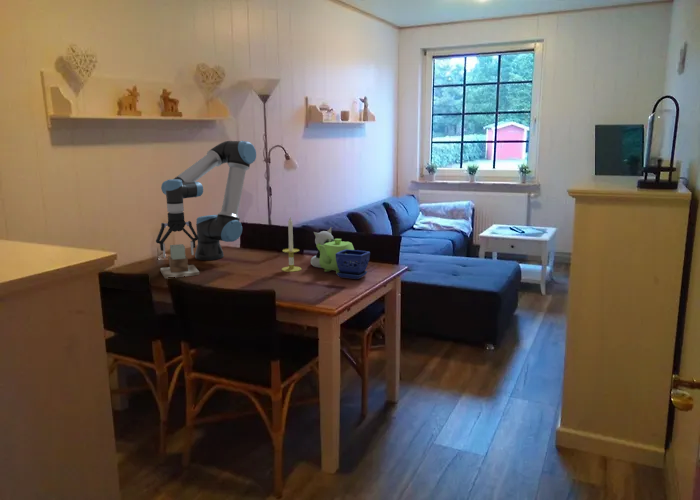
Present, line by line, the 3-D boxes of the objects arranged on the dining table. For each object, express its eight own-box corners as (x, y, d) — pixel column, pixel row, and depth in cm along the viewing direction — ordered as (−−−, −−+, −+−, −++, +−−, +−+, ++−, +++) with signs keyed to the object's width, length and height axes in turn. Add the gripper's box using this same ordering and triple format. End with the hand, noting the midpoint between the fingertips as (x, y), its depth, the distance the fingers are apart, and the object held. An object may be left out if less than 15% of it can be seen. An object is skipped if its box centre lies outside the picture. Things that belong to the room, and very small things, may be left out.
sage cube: (183, 256, 273) (182, 244, 272) (185, 258, 268) (184, 246, 267) (170, 257, 271) (170, 245, 270) (172, 259, 266) (171, 247, 264)
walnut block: (186, 267, 276) (185, 255, 275) (188, 271, 269) (187, 258, 267) (169, 268, 273) (168, 256, 272) (171, 272, 266) (170, 260, 265)
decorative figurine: (318, 270, 276) (317, 230, 272) (305, 264, 288) (305, 226, 284) (344, 267, 283) (344, 228, 279) (331, 261, 295) (330, 224, 291)
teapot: (330, 262, 292) (330, 232, 289) (363, 268, 279) (363, 237, 276) (298, 271, 273) (297, 240, 269) (332, 278, 260) (332, 245, 256)
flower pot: (360, 280, 254) (361, 255, 252) (334, 277, 258) (334, 252, 257) (370, 275, 266) (371, 251, 264) (344, 273, 271) (345, 248, 269)
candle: (305, 268, 280) (304, 215, 275) (295, 272, 272) (293, 218, 266) (288, 266, 285) (286, 214, 279) (277, 270, 276) (276, 216, 270)
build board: (193, 267, 282) (193, 264, 281) (199, 274, 268) (199, 271, 267) (160, 270, 275) (160, 267, 275) (164, 278, 261) (164, 275, 261)
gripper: (200, 209, 273) (202, 251, 278) (147, 212, 263) (151, 256, 268) (203, 211, 267) (205, 254, 271) (149, 214, 257) (152, 259, 261)
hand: (178, 255), depth 270 cm, fingers open, 12 cm apart
